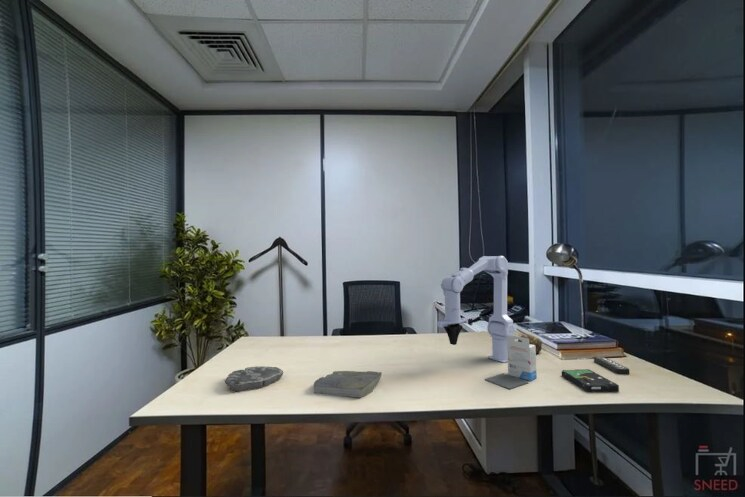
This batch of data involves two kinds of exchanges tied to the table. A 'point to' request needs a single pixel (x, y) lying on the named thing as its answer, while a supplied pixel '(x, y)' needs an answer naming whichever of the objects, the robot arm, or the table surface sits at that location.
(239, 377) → the brain slice
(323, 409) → the table surface
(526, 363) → the ink box
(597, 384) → the disk drive
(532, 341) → the seashell
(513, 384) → the mat
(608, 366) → the multiport hub
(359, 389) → the fossil
